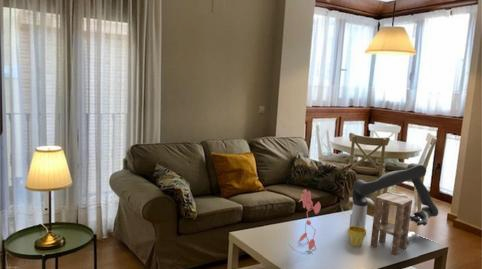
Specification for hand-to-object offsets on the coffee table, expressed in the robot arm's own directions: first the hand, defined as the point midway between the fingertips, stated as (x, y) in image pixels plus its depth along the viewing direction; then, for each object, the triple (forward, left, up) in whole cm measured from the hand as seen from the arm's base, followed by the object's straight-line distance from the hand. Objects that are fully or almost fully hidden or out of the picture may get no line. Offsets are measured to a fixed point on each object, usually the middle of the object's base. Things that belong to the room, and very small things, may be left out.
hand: (410, 222), depth 248 cm
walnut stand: (-3, -23, -12) cm, 26 cm away
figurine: (-37, -64, -12) cm, 75 cm away
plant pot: (-18, -35, -12) cm, 41 cm away
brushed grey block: (0, -1, -12) cm, 12 cm away
